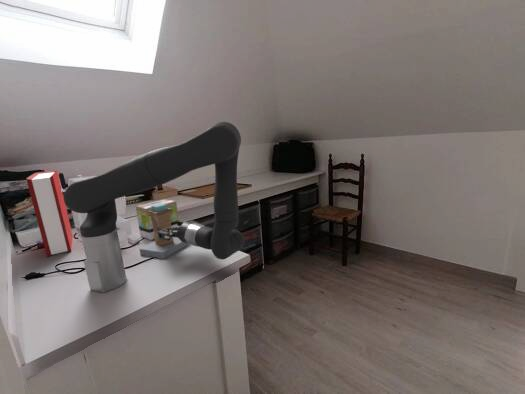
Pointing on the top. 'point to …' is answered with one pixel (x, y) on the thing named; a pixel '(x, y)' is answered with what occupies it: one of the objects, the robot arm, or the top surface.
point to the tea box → (146, 221)
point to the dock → (162, 249)
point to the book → (50, 211)
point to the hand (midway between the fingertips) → (168, 226)
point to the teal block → (159, 207)
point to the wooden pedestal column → (161, 225)
